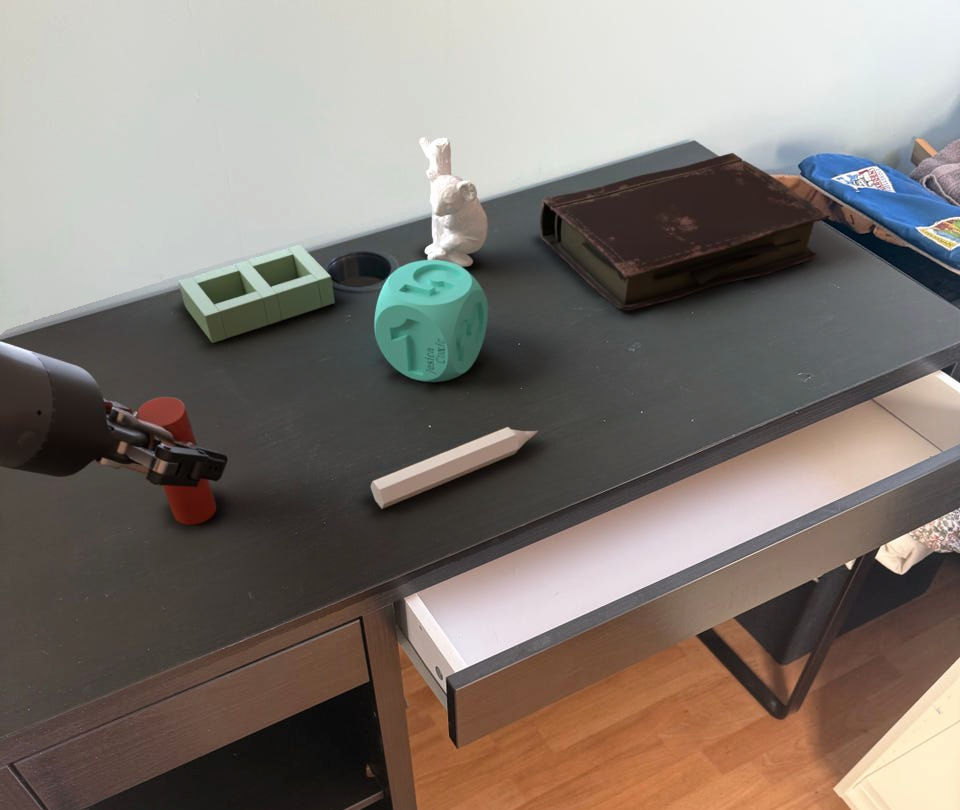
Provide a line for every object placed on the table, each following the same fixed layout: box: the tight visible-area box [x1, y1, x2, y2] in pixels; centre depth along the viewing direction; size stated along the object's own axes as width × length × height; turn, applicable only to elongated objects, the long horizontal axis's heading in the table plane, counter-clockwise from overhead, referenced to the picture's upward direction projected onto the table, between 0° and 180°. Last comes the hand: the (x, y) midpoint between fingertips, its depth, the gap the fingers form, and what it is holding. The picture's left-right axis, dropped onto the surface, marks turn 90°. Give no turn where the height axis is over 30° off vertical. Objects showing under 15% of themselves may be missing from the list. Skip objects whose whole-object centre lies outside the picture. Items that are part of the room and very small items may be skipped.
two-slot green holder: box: [177, 244, 336, 344], centre depth 92 cm, size 14×8×3 cm, turn 122°
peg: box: [136, 396, 217, 526], centre depth 71 cm, size 4×4×10 cm
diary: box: [539, 152, 830, 311], centre depth 98 cm, size 19×25×5 cm
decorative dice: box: [373, 259, 489, 383], centre depth 84 cm, size 8×8×8 cm
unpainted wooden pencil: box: [370, 426, 539, 510], centre depth 77 cm, size 3×2×16 cm
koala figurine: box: [418, 136, 489, 268], centre depth 94 cm, size 8×7×12 cm
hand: (198, 454), depth 72 cm, fingers open, 4 cm apart
